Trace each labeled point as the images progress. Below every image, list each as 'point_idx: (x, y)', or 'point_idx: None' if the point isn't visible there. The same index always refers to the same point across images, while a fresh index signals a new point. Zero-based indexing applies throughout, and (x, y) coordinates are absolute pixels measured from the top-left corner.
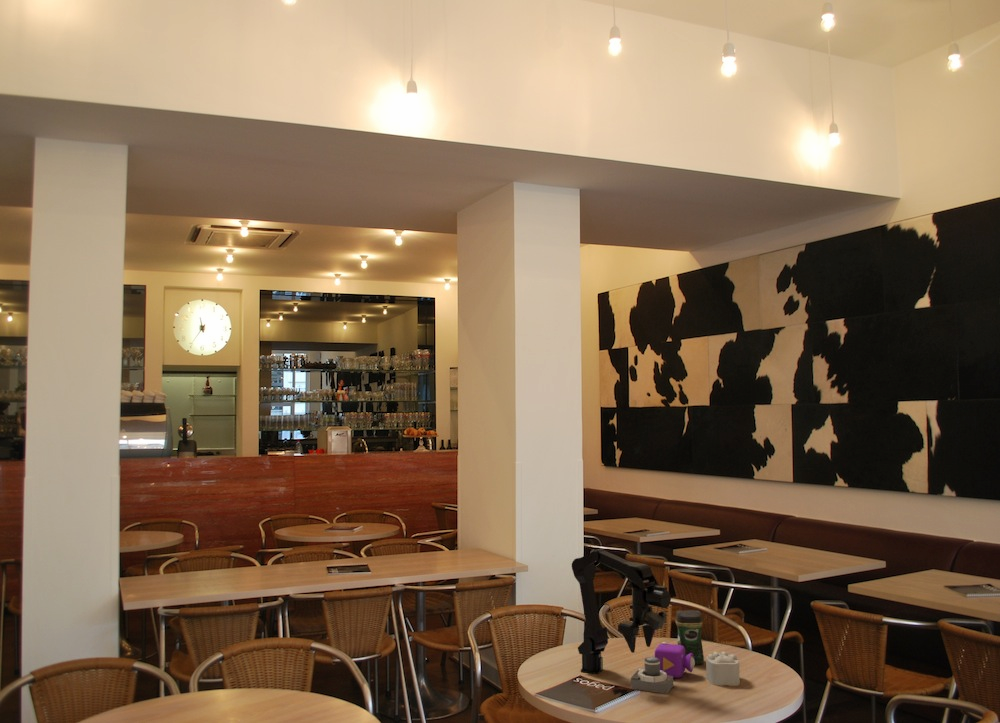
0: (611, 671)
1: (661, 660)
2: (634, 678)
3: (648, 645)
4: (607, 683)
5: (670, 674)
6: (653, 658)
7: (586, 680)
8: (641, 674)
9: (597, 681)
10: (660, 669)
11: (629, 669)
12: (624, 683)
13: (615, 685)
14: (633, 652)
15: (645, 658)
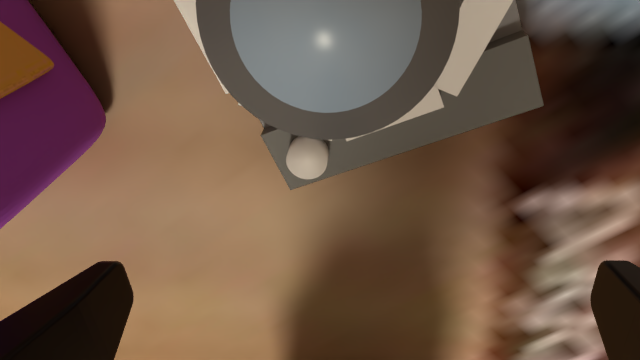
0: (287, 343)
1: (1, 121)
2: (534, 71)
3: (115, 286)
4: (506, 253)
5: (20, 2)
6: (284, 19)
7: (533, 354)
8: (466, 45)
9: (509, 309)
10: (64, 96)
11: (171, 299)
12: (427, 179)
13: (512, 197)
14: (625, 266)
15: (359, 124)
